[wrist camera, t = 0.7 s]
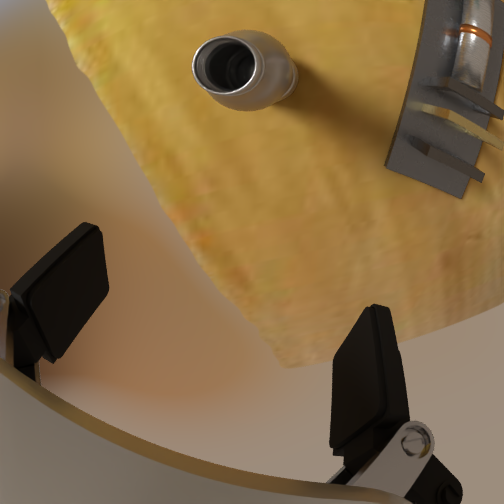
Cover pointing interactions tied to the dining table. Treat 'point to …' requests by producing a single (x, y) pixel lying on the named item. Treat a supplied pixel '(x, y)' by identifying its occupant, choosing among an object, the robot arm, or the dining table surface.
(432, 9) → the plate
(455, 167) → the collar
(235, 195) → the dining table surface
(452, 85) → the collar
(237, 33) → the plastic bottle
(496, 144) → the aperture bridge
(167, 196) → the dining table surface
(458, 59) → the tube
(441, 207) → the dining table surface
